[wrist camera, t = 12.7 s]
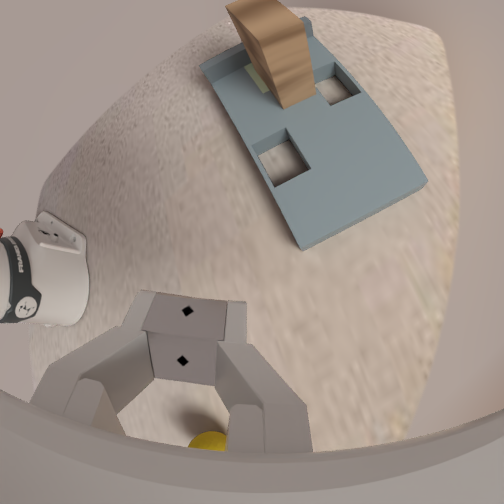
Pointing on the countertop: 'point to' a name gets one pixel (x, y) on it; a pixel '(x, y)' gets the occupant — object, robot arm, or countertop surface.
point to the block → (275, 48)
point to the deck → (319, 144)
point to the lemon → (209, 441)
